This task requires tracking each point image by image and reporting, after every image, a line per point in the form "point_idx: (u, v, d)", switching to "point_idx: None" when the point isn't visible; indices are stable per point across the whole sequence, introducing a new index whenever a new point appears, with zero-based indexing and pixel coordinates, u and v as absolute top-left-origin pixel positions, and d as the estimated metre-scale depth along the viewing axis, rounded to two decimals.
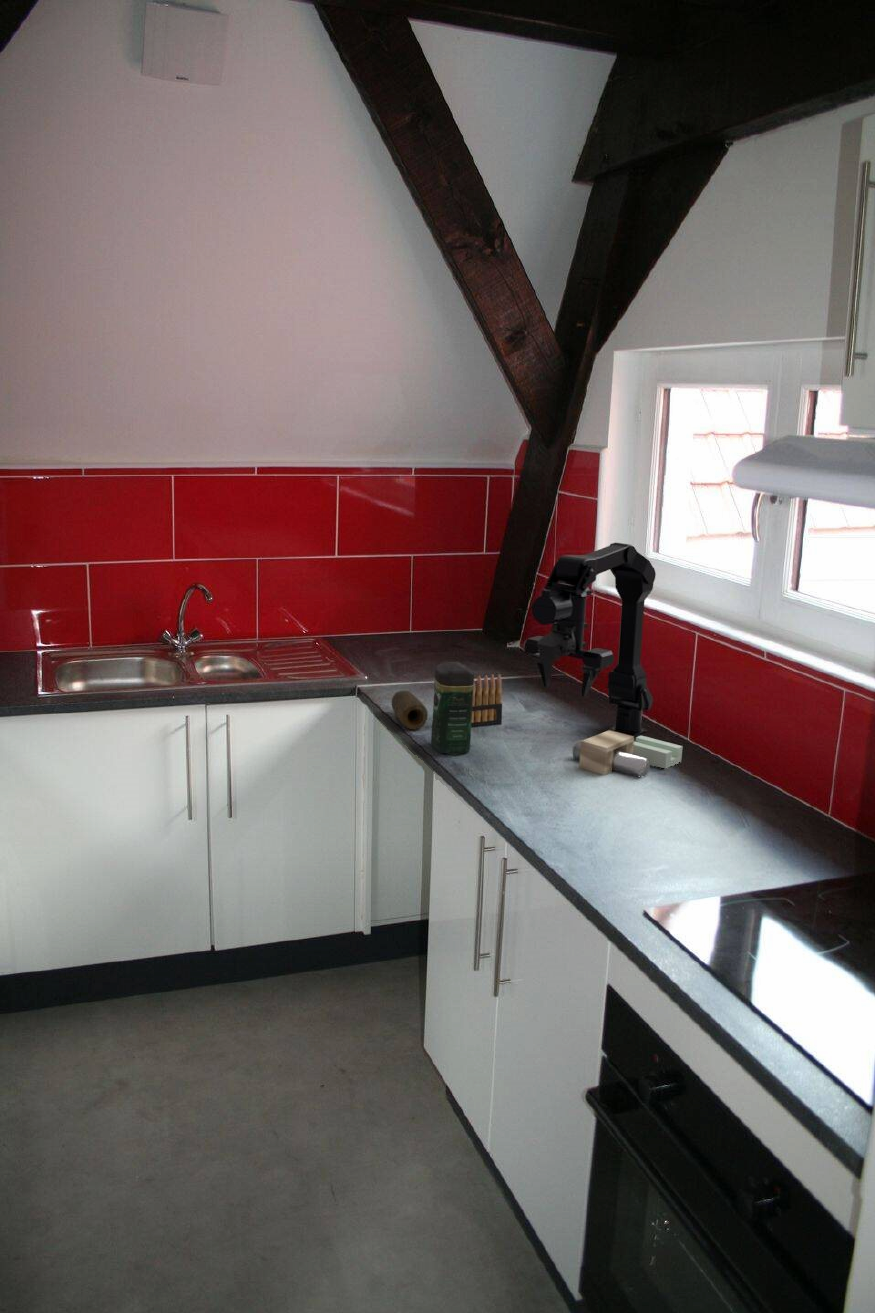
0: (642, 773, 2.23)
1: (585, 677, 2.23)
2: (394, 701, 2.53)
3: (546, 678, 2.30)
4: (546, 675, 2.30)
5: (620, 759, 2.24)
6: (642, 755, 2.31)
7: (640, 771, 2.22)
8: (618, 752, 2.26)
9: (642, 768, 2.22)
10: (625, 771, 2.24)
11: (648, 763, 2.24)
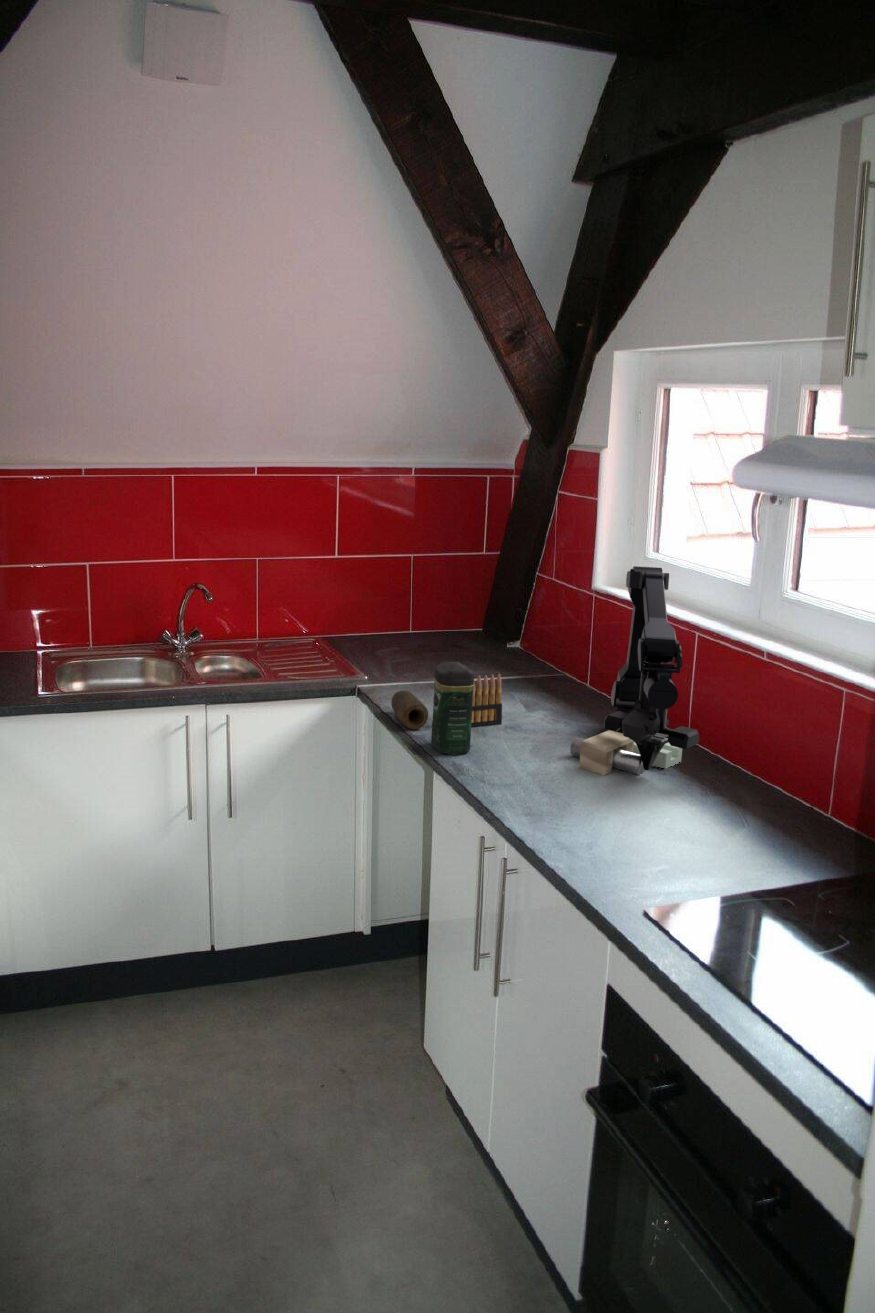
0: (639, 769, 2.23)
1: (649, 751, 2.20)
2: (394, 701, 2.53)
3: (646, 760, 2.22)
4: None
5: (618, 753, 2.26)
6: None
7: (637, 764, 2.22)
8: (617, 748, 2.27)
9: (639, 763, 2.23)
10: (622, 765, 2.25)
11: None
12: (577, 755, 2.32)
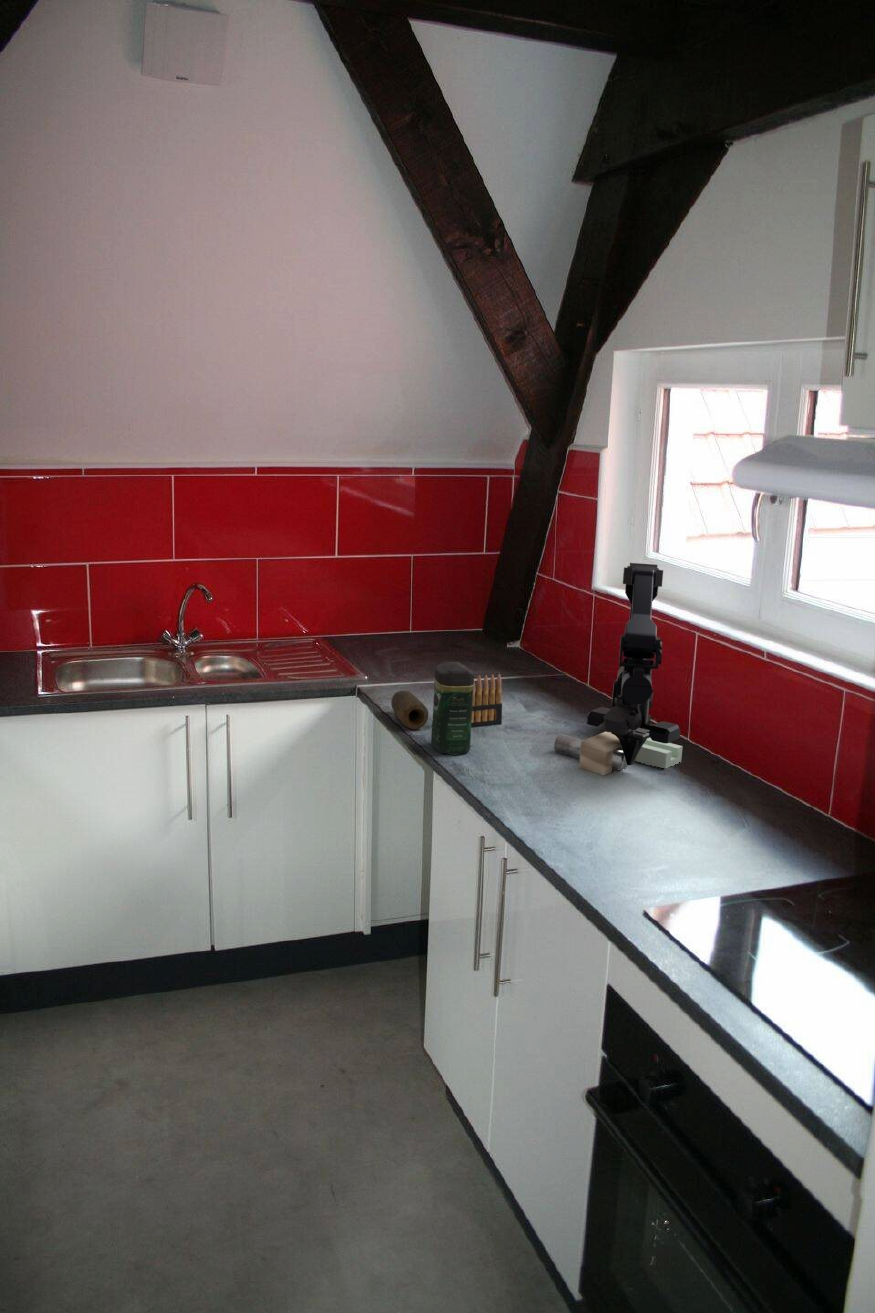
0: (621, 765, 2.26)
1: (631, 746, 2.23)
2: (394, 701, 2.53)
3: None
4: None
5: None
6: (642, 755, 2.31)
7: (620, 761, 2.25)
8: None
9: (622, 760, 2.26)
10: None
11: None
12: (561, 751, 2.34)
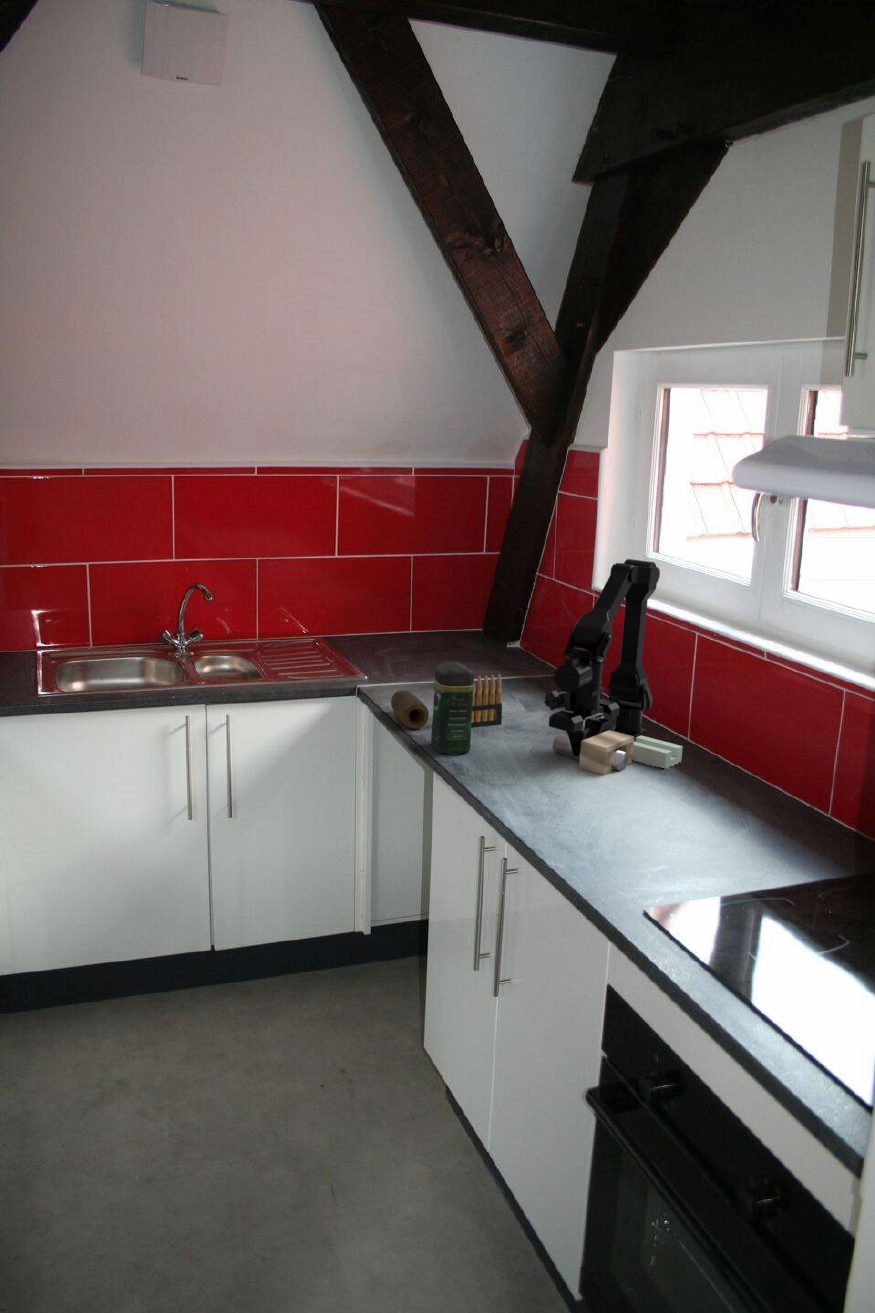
0: (620, 766, 2.26)
1: None
2: (394, 701, 2.53)
3: None
4: None
5: None
6: (642, 755, 2.31)
7: (618, 764, 2.25)
8: None
9: (620, 761, 2.25)
10: None
11: (626, 757, 2.27)
12: (561, 753, 2.34)
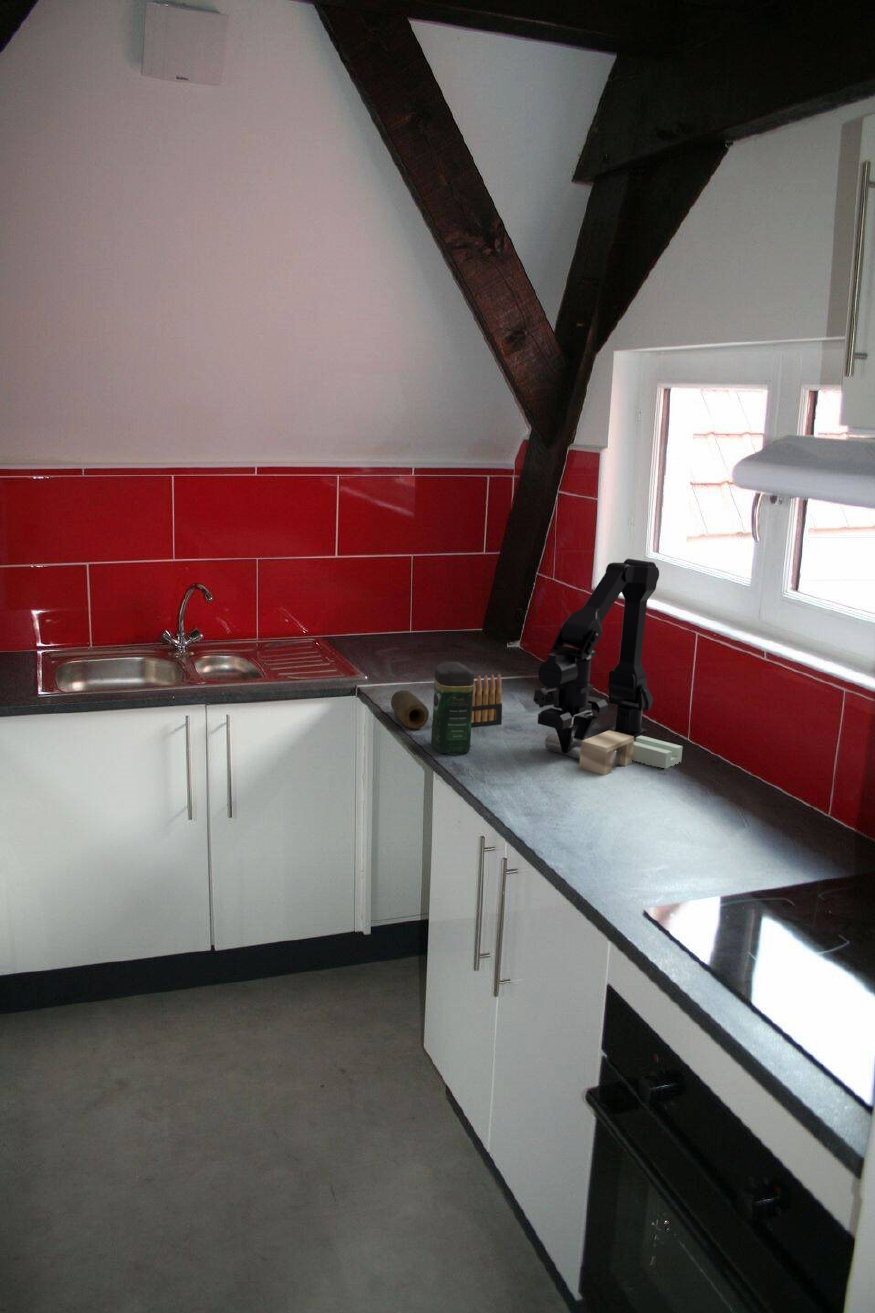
0: (612, 763, 2.27)
1: None
2: (394, 701, 2.53)
3: None
4: (575, 736, 2.35)
5: None
6: (642, 755, 2.31)
7: None
8: None
9: None
10: None
11: (618, 754, 2.28)
12: (553, 750, 2.35)
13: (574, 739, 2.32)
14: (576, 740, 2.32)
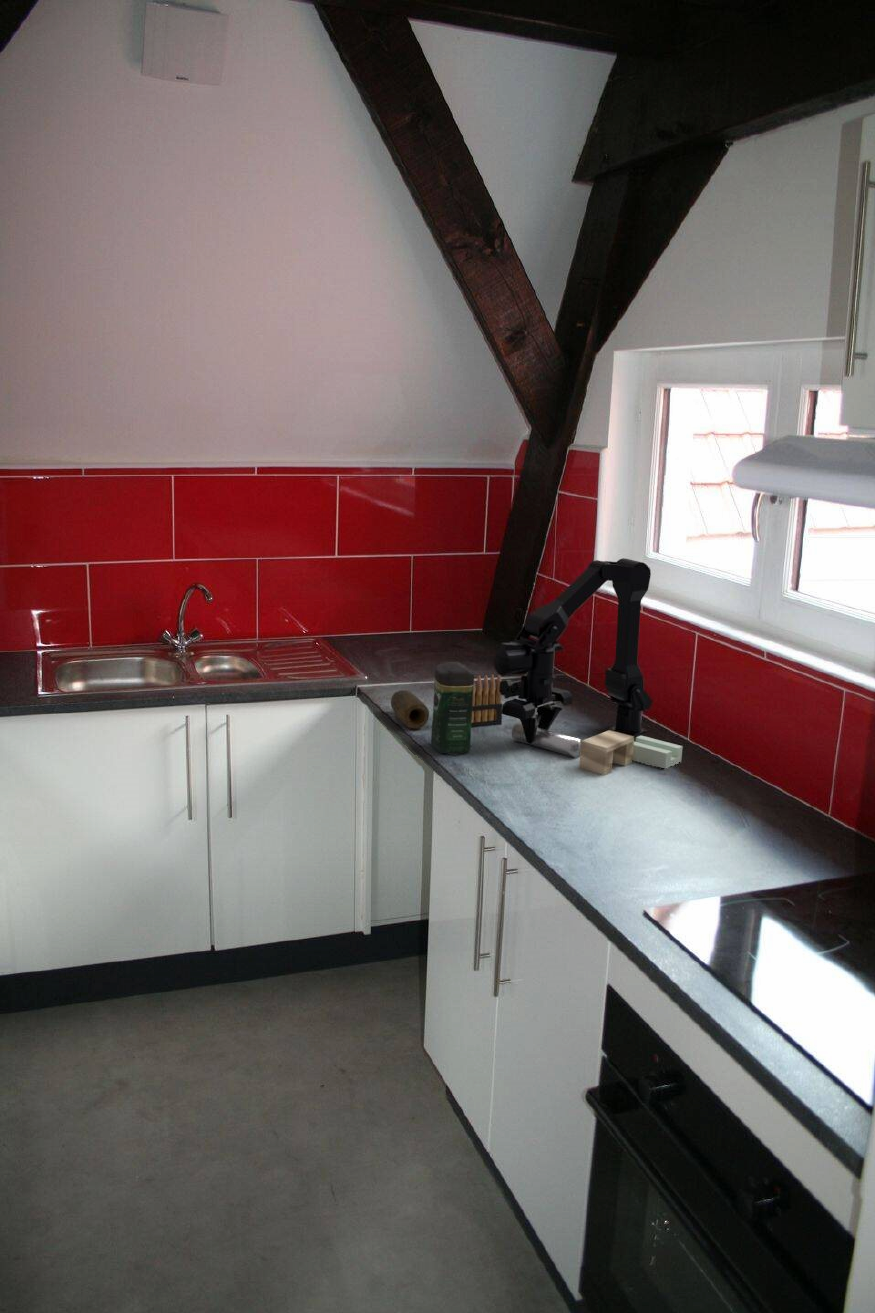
0: (576, 753, 2.32)
1: None
2: (394, 701, 2.53)
3: None
4: (539, 726, 2.41)
5: (555, 739, 2.34)
6: (642, 755, 2.31)
7: (573, 750, 2.31)
8: (554, 733, 2.36)
9: (576, 748, 2.32)
10: (560, 751, 2.34)
11: None
12: None
13: (540, 729, 2.38)
14: (541, 730, 2.37)
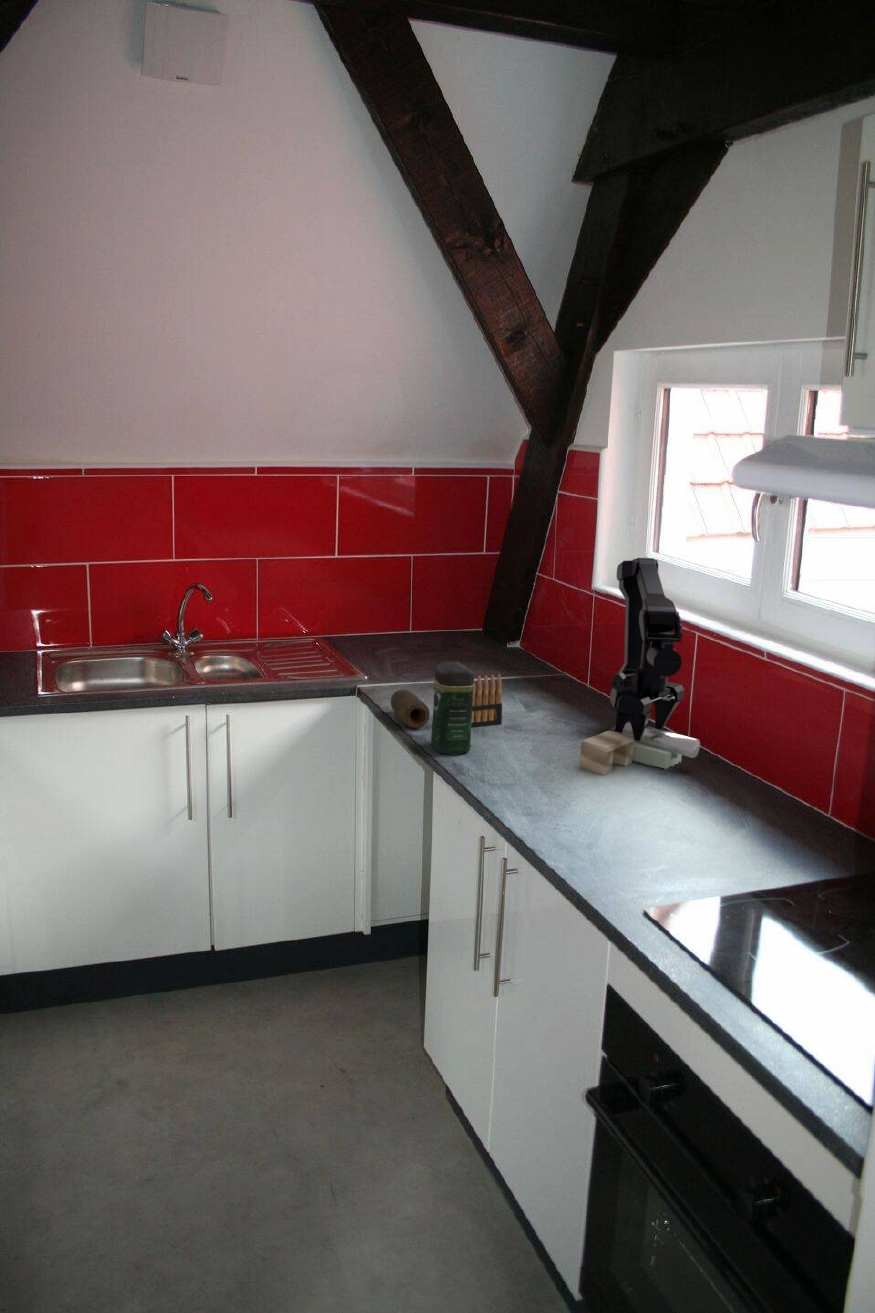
0: (693, 753, 2.26)
1: None
2: (394, 701, 2.53)
3: (656, 721, 2.37)
4: (657, 719, 2.36)
5: (670, 739, 2.28)
6: (642, 755, 2.31)
7: (691, 751, 2.25)
8: (668, 733, 2.30)
9: (692, 748, 2.26)
10: (676, 751, 2.28)
11: (698, 744, 2.27)
12: None
13: (653, 729, 2.32)
14: (655, 730, 2.31)
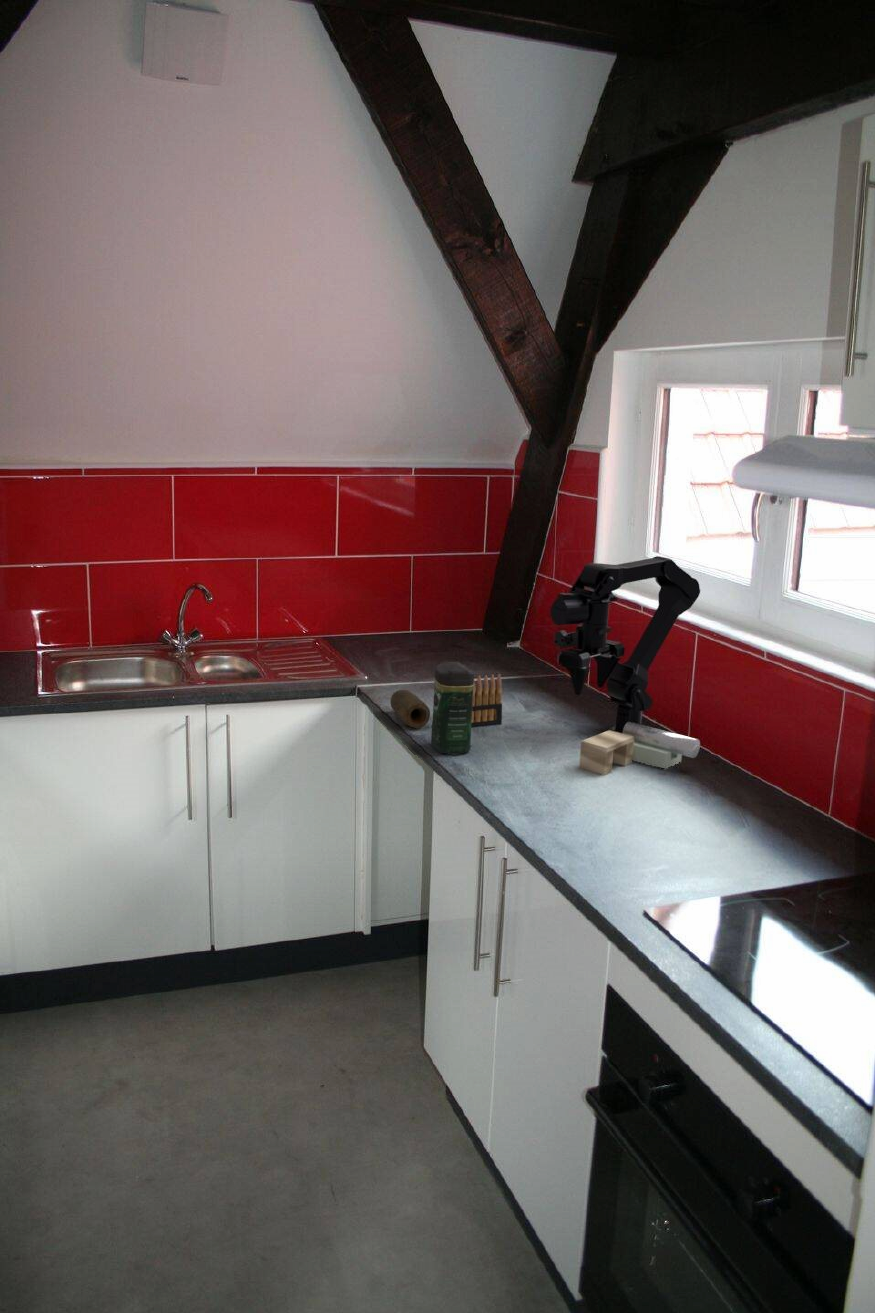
0: (693, 753, 2.26)
1: None
2: (394, 701, 2.53)
3: (598, 678, 2.47)
4: (599, 675, 2.47)
5: (670, 739, 2.28)
6: (642, 755, 2.31)
7: (691, 751, 2.25)
8: (668, 733, 2.30)
9: (692, 748, 2.26)
10: (676, 751, 2.28)
11: (698, 744, 2.27)
12: None
13: (653, 729, 2.32)
14: (655, 730, 2.31)
